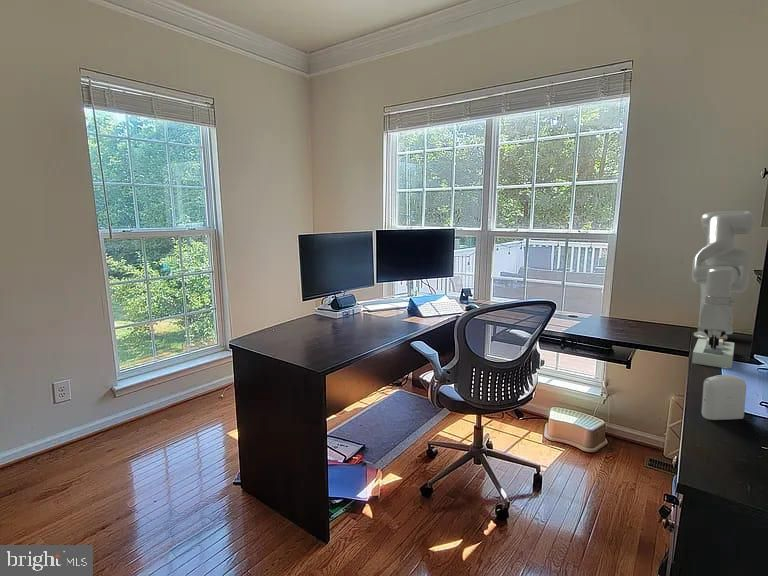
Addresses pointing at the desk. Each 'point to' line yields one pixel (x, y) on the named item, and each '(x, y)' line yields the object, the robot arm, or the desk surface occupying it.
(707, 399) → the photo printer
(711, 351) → the slate key
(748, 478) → the desk surface
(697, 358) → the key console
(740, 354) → the desk surface
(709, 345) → the white key
